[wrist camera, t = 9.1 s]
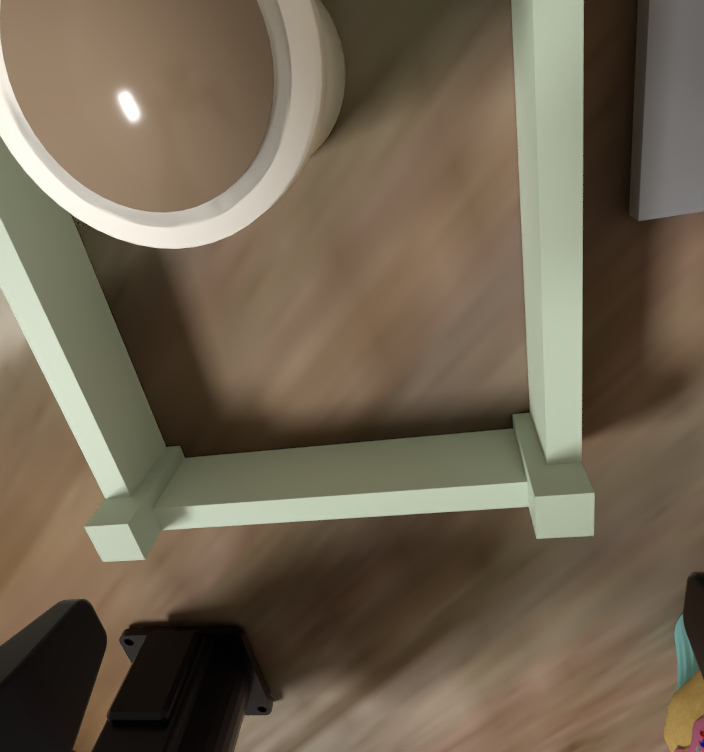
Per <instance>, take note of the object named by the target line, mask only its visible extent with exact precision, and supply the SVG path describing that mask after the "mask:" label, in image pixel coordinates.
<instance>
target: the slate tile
mask: <svg viewBox="0 0 704 752" xmlns="http://www.w3.org/2000/svg"><path fill="white" fill-rule="evenodd" d="M703 211H704V0H638V12H637V36H636V60H635V84H634V108H633V132H632V156H631V180H630V204H629V215H630V216H631V217H633V218H634V219H636V220H637V221H643V220H650V219H656V218H663V217H670V216H676V215H683V214H689V213H696V212H703Z"/></svg>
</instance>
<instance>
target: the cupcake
mask: <svg viewBox="0 0 704 752" xmlns="http://www.w3.org/2000/svg"><path fill="white" fill-rule="evenodd" d="M675 643H676V651H677V664H678V682H677V690H676V692H675V693H674V695H673V697H672V699H671V701H670V703H669V707H668V710H667V716H666V724H665V727H664V737H665V740H666V743H667V745H668V747H669V749H670V751H671V752H704V680H703V677H702V675H701V672H700V669H699V667H698V664H697V661H696V658H695V656H694V653H693V650H692V648H691V645H690V642H689V640H688V637H687V634H686V631H685V627H684V622H683V614H682V615H681V616H680V618H679V619H678V621H677V623H676V627H675Z"/></svg>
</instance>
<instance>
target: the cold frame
mask: <svg viewBox="0 0 704 752" xmlns="http://www.w3.org/2000/svg"><path fill="white" fill-rule="evenodd" d="M511 9H512V31H513V53H514V75H515V96H516V118H517V140H518V162H519V184H520V205H521V227H522V249H523V271H524V293H525V314H526V336H527V358H528V380H529V402H530V413H521V414H512V416H513V428H512V429H501V430H490V431H479V432H468V433H457V434H446V435H435V436H423V437H412V438H401V439H390V440H379V441H368V442H357V443H345V444H334V445H323V446H312V447H301V448H290V449H279V450H268V451H256V452H245V453H234V454H223V455H212V456H201V457H190V458H185V457H184V454H183V452H182V449H181V447H180V446H172V447H166V445H165V443H164V440H163V438H162V435H161V433H160V430H159V428H158V426H157V423H156V421H155V418H154V416H153V413H152V411H151V409H150V406H149V404H148V401H147V399H146V396H145V394H144V391H143V389H142V387H141V384H140V382H139V379H138V377H137V374H136V372H135V370H134V367H133V365H132V362H131V360H130V357H129V355H128V352H127V350H126V348H125V345H124V343H123V340H122V338H121V335H120V333H119V331H118V328H117V326H116V323H115V321H114V318H113V316H112V313H111V311H110V309H109V306H108V304H107V301H106V299H105V296H104V294H103V292H102V289H101V287H100V284H99V282H98V279H97V277H96V274H95V272H94V270H93V267H92V265H91V262H90V260H89V257H88V255H87V252H86V250H85V248H84V245H83V243H82V240H81V238H80V235H79V233H78V231H77V228H76V226H75V223H74V221H73V218H72V216H71V213H69V212H68V211H66V210H65V209H64V208H62V207H61V206H60V205H58V204H57V203H56V202H55V201H54V200H53V199H52V198H51V197H50V196H48V195H47V194H46V193H45V192H44V191H43V190H42V189H41V188H40V187H39V186H38V185H37V184H36V183H35V182H34V180H33V179H32V178H31V177H30V176H29V175H28V174H27V173H26V172H25V170H24V169H23V168H22V166H21V165H20V164H19V163H18V161H17V160H16V159H15V157H14V156H13V155H12V153H11V152H10V150H9V149H8V147H7V146H6V144H5V142H4V141H3V139H2V137H1V136H0V287H1V289H2V291H3V293H4V295H5V297H6V299H7V301H8V303H9V305H10V307H11V309H12V311H13V313H14V315H15V317H16V319H17V321H18V323H19V325H20V327H21V329H22V331H23V333H24V335H25V337H26V339H27V341H28V343H29V345H30V347H31V349H32V351H33V353H34V355H35V357H36V359H37V361H38V363H39V365H40V367H41V369H42V371H43V373H44V375H45V377H46V379H47V382H48V384H49V386H50V388H51V390H52V392H53V394H54V396H55V398H56V400H57V402H58V404H59V406H60V408H61V410H62V412H63V414H64V416H65V418H66V420H67V422H68V424H69V426H70V428H71V430H72V432H73V434H74V436H75V438H76V440H77V442H78V444H79V446H80V448H81V450H82V452H83V454H84V456H85V458H86V460H87V462H88V464H89V466H90V468H91V470H92V472H93V474H94V476H95V478H96V480H97V482H98V484H99V486H100V488H101V490H102V492H103V494H104V496H105V498H106V499H105V500H104V502H103V503H102V504H101V506H100V507H99V508H98V510H97V511H96V512H95V513H94V515H93V516H92V517H91V519H90V520H89V521H88V523H87V524H86V525H85V529H86V531H87V533H88V535H89V537H90V539H91V540H92V542H93V544H94V546H95V548H96V550H97V552H98V554H99V555H100V557H101V559H102V561H103V562H109V561H128V560H145V559H146V557H147V555H148V553H149V552H150V550H151V548H152V547H153V545H154V543H155V541H156V540H157V538H158V536H159V535H160V533H161V531H162V530H171V529H186V528H202V527H218V526H234V525H249V524H265V523H281V522H296V521H312V520H328V519H344V518H359V517H375V516H391V515H406V514H422V513H438V512H454V511H469V510H485V509H501V508H516V507H529V510H530V514H531V518H532V522H533V526H534V530H535V534H536V538H537V539H543V538H562V537H581V536H594V497H595V493H594V490H593V488H592V485H591V483H590V481H589V478H588V476H587V474H586V471H585V469H584V466H583V464H582V281H583V46H584V0H511Z"/></svg>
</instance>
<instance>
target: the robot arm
mask: <svg viewBox="0 0 704 752" xmlns="http://www.w3.org/2000/svg"><path fill="white" fill-rule="evenodd" d="M683 622H684V627H685V631H686V634H687V637H688V640H689V642H690V645H691V648H692V650H693V653H694V656H695V658H696V661H697V664H698V667H699V669H700V672H701V675H702V677H703V680H704V572H693V573H691V574H690V575H689V576H688V579H687V585H686V593H685V601H684V609H683ZM119 641H120V644H121V645H122V647H123V649H124V651H125V652H126V654H127V656H128V658H129V659H130V661H131V663H132V665H131V667H130V669H129V671H128V673H127V675H126V677H125V679H124V681H123V683H122V685H121V687H120V689H119V691H118V693H117V695H116V697H115V699H114V701H113V703H112V705H111V707H110V709H109V710H108V713H107V721H106V723H105V725H104V727H103V729H102V731H101V733H100V735H99V737H98V739H97V741H96V743H95V745H94V747H93V749H92V751H91V752H234V749H235V746H236V742H237V739H238V735H239V731H240V728H241V724H242V721H243V717H244V715H268V714H270V713H271V711H272V706H273V701H272V699H271V696H270V694H269V691H268V689H267V686H266V684H265V681H264V679H263V676H262V674H261V672H260V669H259V667H258V664H257V662H256V659H255V657H254V654H253V652H252V649H251V647H250V645H249V642H248V640H247V637H246V635H245V632H244V631H243V630H242V629H241V628H239V627H237V626H207V627H170V628H134V629H126V630H124V631H123V633H122V635H121V637H120V639H119ZM106 645H107V636H106V632H105V629H104V628H103V626H102V624H101V622H100V620H99V618H98V616H97V614H96V612H95V610H94V608H93V606H92V605H91V603H90V602H89V601H87V600H86V599H71V600H63V601H60V602H58V603H57V604H55V605H54V606H53V607H51V608H50V609H49V610H47V611H46V612H45V613H43V614H42V615H41V616H39V617H38V618H37V619H36V620H34V621H33V622H32V623H30V624H29V625H28V626H26V627H25V628H24V629H22V630H21V631H20V632H18V633H17V634H16V635H14V636H13V637H12V638H10V639H9V640H8V641H6V642H5V643H4V644H2V645H1V646H0V752H76V751H74V750H73V747H74V744H75V741H76V738H77V735H78V733H79V730H80V727H81V723H82V720H83V717H84V714H85V711H86V708H87V705H88V702H89V699H90V696H91V693H92V690H93V687H94V684H95V681H96V678H97V675H98V672H99V668H100V665H101V662H102V659H103V656H104V653H105V650H106Z"/></svg>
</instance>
